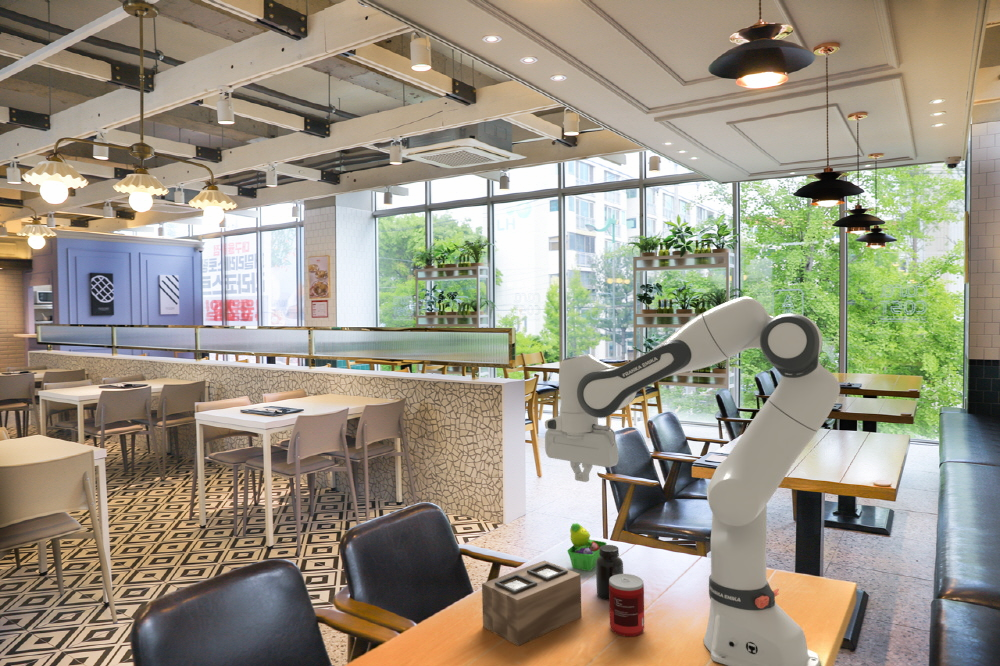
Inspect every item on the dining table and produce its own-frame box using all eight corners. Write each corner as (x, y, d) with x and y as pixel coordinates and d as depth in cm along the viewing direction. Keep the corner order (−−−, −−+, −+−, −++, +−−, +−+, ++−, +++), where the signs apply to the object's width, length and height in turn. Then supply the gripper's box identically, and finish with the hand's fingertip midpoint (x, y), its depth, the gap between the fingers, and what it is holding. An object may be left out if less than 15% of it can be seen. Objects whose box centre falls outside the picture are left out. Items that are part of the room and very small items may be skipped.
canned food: (631, 618, 154) (631, 571, 153) (651, 633, 146) (650, 584, 146) (603, 624, 151) (602, 576, 151) (621, 640, 143) (620, 590, 143)
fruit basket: (592, 574, 180) (591, 532, 180) (562, 568, 185) (561, 528, 184) (608, 560, 190) (607, 521, 189) (579, 554, 194) (579, 516, 194)
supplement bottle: (622, 589, 169) (621, 543, 169) (625, 601, 163) (624, 553, 162) (595, 589, 170) (594, 542, 170) (596, 600, 163) (596, 552, 163)
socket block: (581, 616, 155) (580, 571, 155) (518, 646, 142) (517, 597, 142) (545, 600, 164) (544, 558, 164) (482, 626, 151) (481, 580, 151)
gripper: (622, 424, 151) (625, 484, 151) (557, 417, 166) (560, 472, 166) (605, 428, 147) (608, 490, 147) (539, 421, 162) (542, 477, 162)
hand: (582, 480), depth 157 cm, fingers closed
